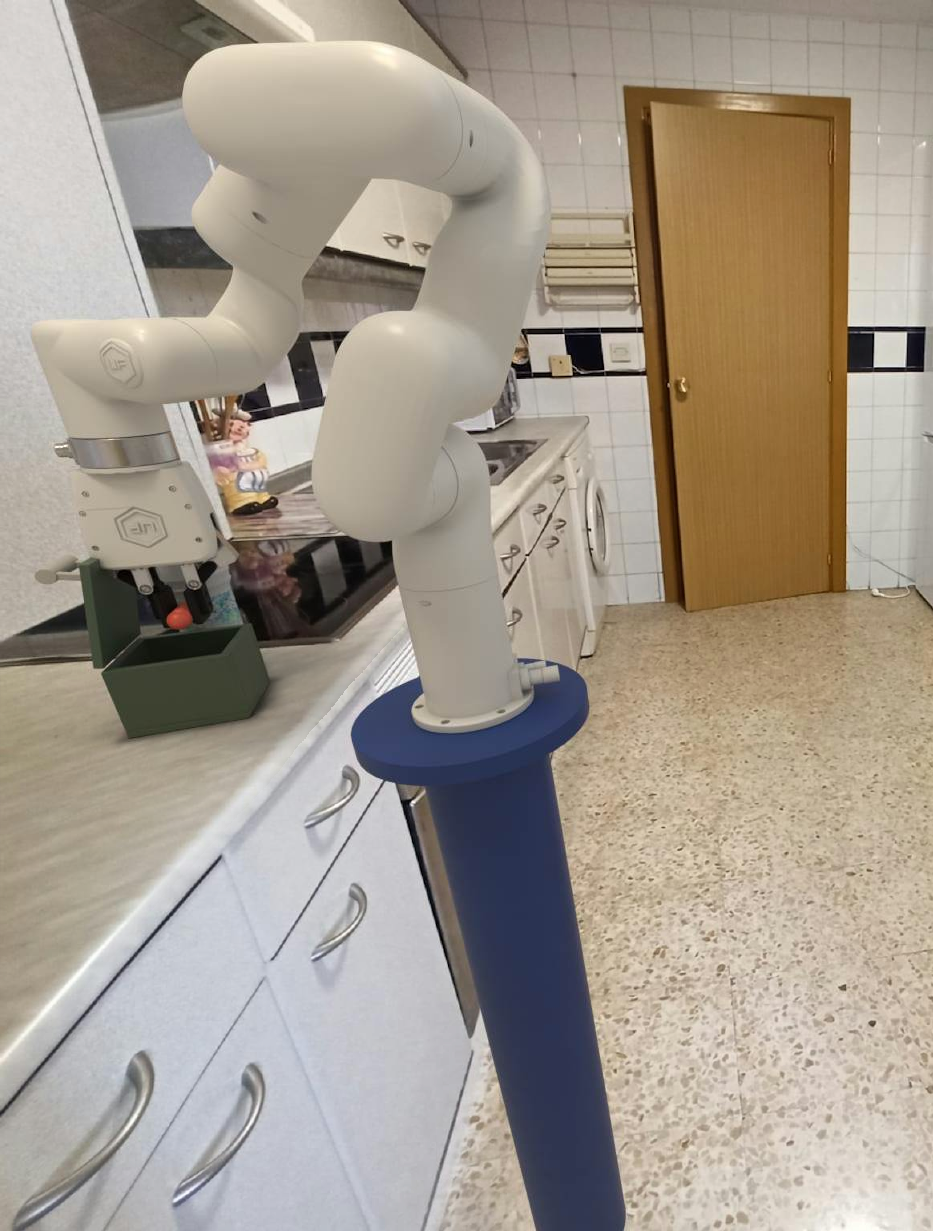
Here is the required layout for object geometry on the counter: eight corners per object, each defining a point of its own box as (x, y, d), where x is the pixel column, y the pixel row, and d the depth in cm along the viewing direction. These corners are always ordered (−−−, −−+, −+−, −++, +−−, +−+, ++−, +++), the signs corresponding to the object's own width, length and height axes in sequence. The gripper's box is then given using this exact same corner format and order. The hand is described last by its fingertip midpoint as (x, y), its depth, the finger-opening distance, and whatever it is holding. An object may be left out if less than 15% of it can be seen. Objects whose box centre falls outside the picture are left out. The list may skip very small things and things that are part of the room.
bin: (270, 681, 88) (251, 622, 85) (249, 718, 80) (227, 655, 77) (162, 698, 84) (138, 637, 81) (128, 738, 76) (100, 673, 73)
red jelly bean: (186, 613, 80) (180, 597, 80) (208, 611, 81) (202, 594, 80) (166, 633, 75) (160, 616, 75) (190, 630, 76) (184, 613, 75)
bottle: (212, 666, 91) (157, 513, 84) (271, 660, 93) (223, 510, 85) (182, 690, 85) (120, 528, 78) (246, 684, 87) (192, 525, 79)
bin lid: (130, 539, 77) (67, 535, 75) (89, 564, 69) (17, 561, 67) (141, 634, 81) (81, 633, 79) (103, 669, 73) (35, 669, 70)
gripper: (-1, 464, 65) (77, 647, 72) (214, 454, 71) (267, 623, 78) (42, 451, 71) (109, 620, 78) (236, 442, 77) (283, 600, 84)
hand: (188, 620), depth 78 cm, fingers closed on red jelly bean, 2 cm apart
